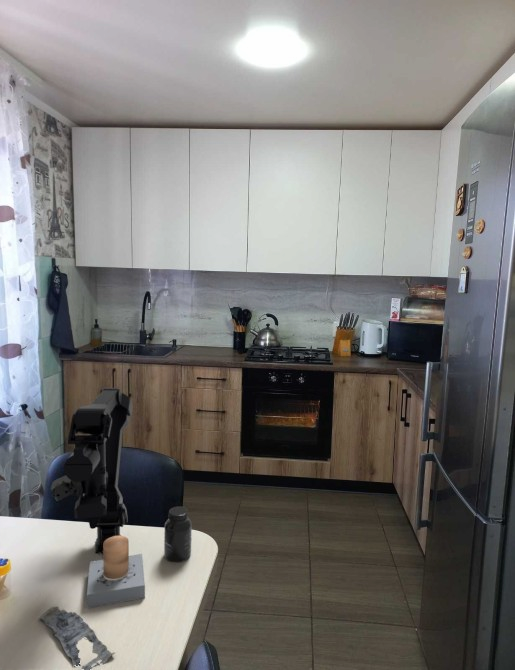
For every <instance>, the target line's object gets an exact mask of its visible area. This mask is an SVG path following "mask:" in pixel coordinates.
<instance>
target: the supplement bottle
mask: <svg viewBox="0 0 515 670" xmlns="http://www.w3.org/2000/svg"><path fill="white" fill-rule="evenodd" d="M192 525H193V524H192V521H191V519H190V518H189V510H188V508H186V507H184V506H173V507H171V508H170V509H169V511H168V519H167V520H166V521H165V523H164V532H163V533H164V534H163V535H164V540H163V541H164V543H163V544H164V545H163V546H164V547H163V548H164V549H163V553H164V555H163V556H164V557H165V559H166V560H167V561H169V562H171V563H180V562H184V561H186V560H187V559H189V558H190V556H191V553H192Z"/></svg>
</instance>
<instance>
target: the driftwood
mask: <svg viewBox="0 0 515 670" xmlns="http://www.w3.org/2000/svg"><path fill="white" fill-rule="evenodd" d="M38 620H42V621H43V622H44V624H45V625H46V626H48V627H49V628H51V629H52V631H53V633H52V636H54V637H56V638H57V639H58V640H59V641H60V644H61V646H62V648H63V650H64V652H65V654H66V656H68V657H69V658H71V661H72V667H73V666H74V665H76V666H78V665H79V666H80V667H81V664H79V663H80V661H81V660H82V658H80V657H79V653H80V649H78V647H77V645H78V642H79V641H81V640H83V639H84V640H85V641H86V640H88V642H91V644H92V653H93V654H95V655H97V656H96V657H95V658H93V659H91V661H89V662H88V663H87V664H85V665H84V664H83V665H82V667H81V669H84V670H90V669H91V670H92V669H93V668H95V667H97V666H101V664H102V665H105V664H106V663H107V662H108V661H109V659H110V657H111V656H113V655H115V654H116V652H111V651H110V650H108V647H107V646H106V645H105V644H103V642H102V641H101V640H99V639H98V637H97V634H96V632H95V631H94V630H93V629H92V628H91V627H90V626H89V624H88V623H87V622H85V621H84V619H83V617H82V616H80V615H79V614H77V612H73V611H70V612H67V610H66V609H61V610H60V609H59V606H53V607H50V608H49V609H47V610H46V611H45V612H43V614H42V615H40V617H38ZM99 661H100V663H99Z"/></svg>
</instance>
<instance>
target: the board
mask: <svg viewBox="0 0 515 670" xmlns="http://www.w3.org/2000/svg"><path fill="white" fill-rule="evenodd" d="M143 561H144V560H143V553H139V554H132V555H129V573H128V575H127V576H126V577H124V578H123V579H120V580H116V581H110V580H107V579H105V578H104V576H103V573H104V563H103V559H97V560H90V561H89V567H88V568H89V570H88V578H87V579H88V580H87V590H86V609H88V608H95V607H99V606H106V605H112V604H117V603H123V602H130V601H133V600H139V599H140V600H141V599H145V598H146V583H145V572H144V571H145V570H144V562H143Z"/></svg>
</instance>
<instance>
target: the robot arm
mask: <svg viewBox="0 0 515 670" xmlns="http://www.w3.org/2000/svg"><path fill="white" fill-rule="evenodd" d="M132 402H133V401H132V399H131V397H130V396H129V395H127V394H125V393H123V391H122V389H121V388H118V387H103V388H101V389H100V391H99V394H98V395H97V396H96V398H95V399H94V400H93V401H92V402H91V403H90V404H87V405H82V406H80V407H77V408H76V410H75V412H74V413H73V414H72V417H71V422H70V428H69V433H68V438H67V445H74V448H73V452H72V453H71V454H70V456H69V457H68V458H67V459H66V461H65V463H64V465H63V471H64V474H65V475H64V476H62V477H59V478H56V479H55V480H53V481H52V483H51V486H50V491H51V494H52V495H51V497H52V498H55V501H57V502H59V501H61V500H63V499H64V498H67V497H69V496H71V495H74V494H75V493H76V496H78V497H79V498H78V500H77V501H76V502H75V505H74V519H76V520H82V519H87V520H88V521H87V522H88V524H89V529H92V530H93V529H96V532H97V533H96V535H97V536H96V539H95V548H94V549H95V550H94V552H95V554H100V553H103V543H104V541H105V540H106V539H108V538H110V537H113V536H122V535H121V528H123V527H124V526H125V525H126V524H128V521H129V520H128V511H127V508H126V505H125V504H124V503H123V500H124V498H123V495H122V493H121V491H120V490H119V475H120V465H121V464H120V463H121V454H122V453H121V452H122V442H123V432H124V431H125V430H126V428H127V427H128V426H129V424H130V419H131V417H132V416H133V412H134V411H133V409H134V408H133V407H134V406H133V405H134V404H133V403H132Z"/></svg>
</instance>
